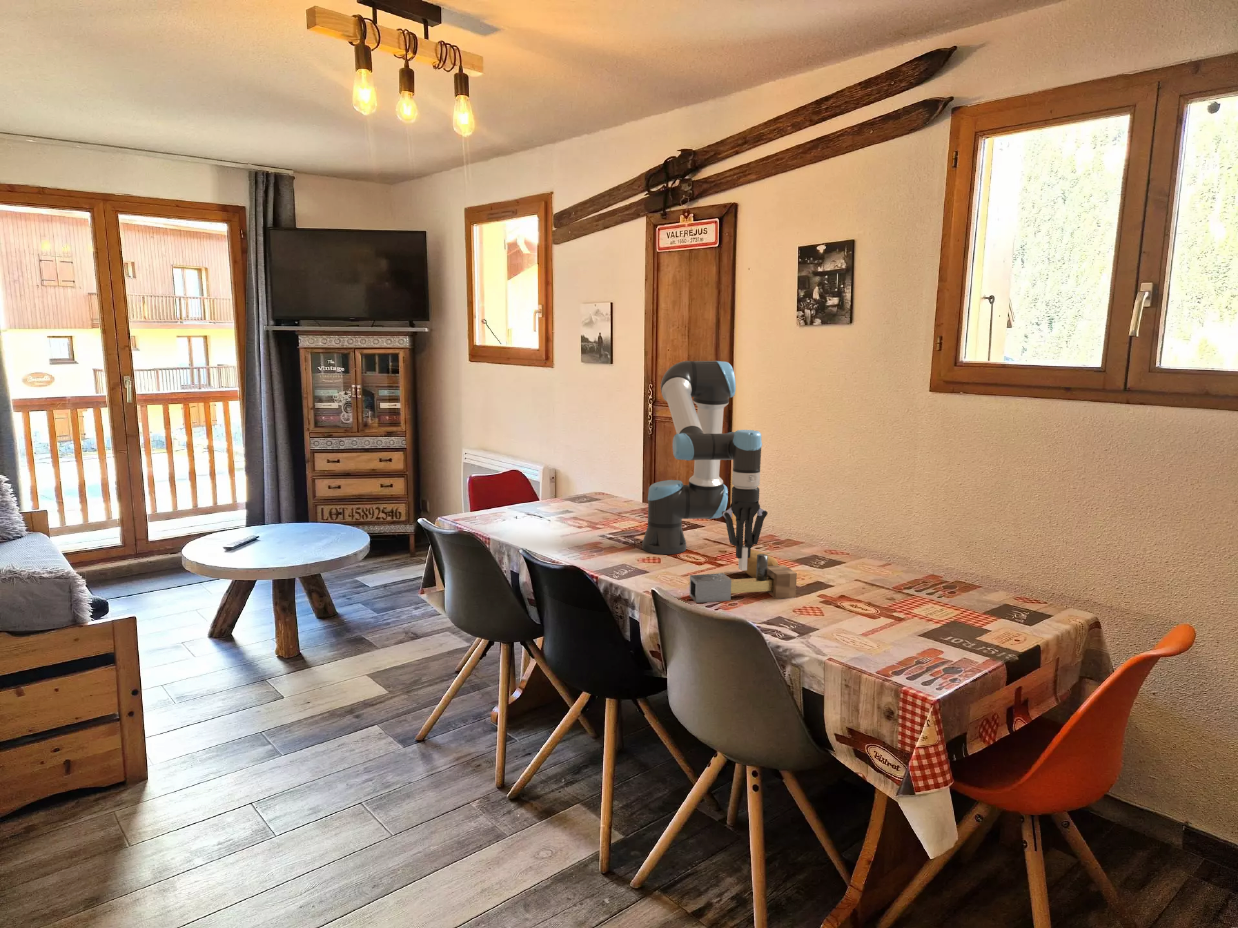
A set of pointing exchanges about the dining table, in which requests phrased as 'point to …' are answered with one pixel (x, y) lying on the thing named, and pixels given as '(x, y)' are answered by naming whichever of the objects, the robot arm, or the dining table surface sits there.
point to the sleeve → (710, 588)
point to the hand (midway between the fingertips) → (742, 569)
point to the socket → (782, 581)
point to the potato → (753, 563)
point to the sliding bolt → (755, 579)
